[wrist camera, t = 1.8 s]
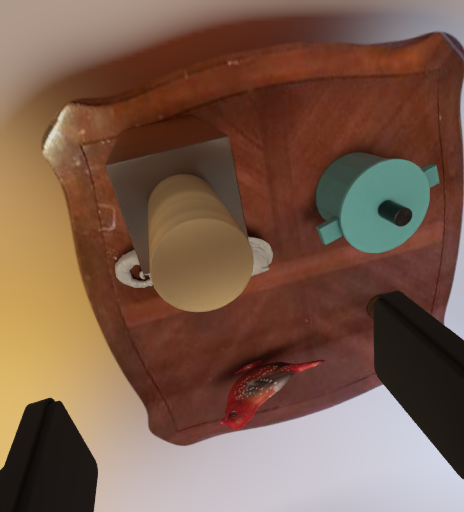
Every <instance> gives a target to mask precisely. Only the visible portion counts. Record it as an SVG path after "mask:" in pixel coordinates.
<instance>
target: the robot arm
mask: <svg viewBox="0 0 464 512" xmlns="http://www.w3.org/2000/svg"><path fill="white" fill-rule="evenodd" d="M373 318H374V367H375V372H376V374H377V376H378V378H379V379H380V381H381V382H382V383H383V384H384V385H385V387H386V388H387V389H388V390H389V391H390V393H391V394H392V395H393V396H394V398H395V399H396V400H397V401H398V402H399V404H400V405H401V406H402V407H403V408H404V410H405V411H406V412H407V413H408V414H409V416H410V417H411V418H412V419H413V420H414V422H415V423H416V424H417V425H418V427H419V428H420V429H421V430H422V431H423V433H424V434H425V435H426V436H427V437H428V439H429V440H430V441H431V442H432V443H433V445H434V446H435V447H436V448H437V450H438V451H439V452H440V453H441V454H442V456H443V457H444V458H445V459H446V460H447V462H448V463H449V464H450V465H451V466H452V468H453V469H454V470H455V471H456V472H457V474H458V475H459V476H460V477H461V478H462V479H464V340H463V339H461V338H460V337H459V336H458V335H456V334H455V333H454V332H452V331H451V330H450V329H448V328H447V327H445V326H444V325H443V324H442V323H440V322H439V321H438V320H436V319H435V318H434V317H433V316H431V315H430V314H429V313H427V312H426V311H425V310H424V309H422V308H421V307H420V306H418V305H417V304H416V303H414V302H413V301H412V300H411V299H409V298H408V297H407V296H405V295H404V294H403V293H402V292H400V291H393V292H390V293H387V294H383V295H380V296H378V298H377V302H375V303H374V305H373ZM97 478H98V468H97V463H96V461H95V459H94V457H93V455H92V454H91V452H90V450H89V448H88V447H87V445H86V443H85V442H84V440H83V438H82V436H81V435H80V433H79V431H78V429H77V428H76V426H75V424H74V423H73V421H72V419H71V417H70V416H69V414H68V412H67V410H66V409H65V407H64V405H63V404H62V402H61V401H56V402H55V401H54V399H52V398H48V399H44V400H41V401H38V402H35V403H31V404H29V405H27V407H26V408H25V411H24V413H23V416H22V419H21V422H20V424H19V427H18V430H17V432H16V435H15V438H14V441H13V443H12V446H11V449H10V451H9V454H8V457H7V460H6V462H5V465H4V467H3V468H2V469H1V470H0V512H94V504H95V494H96V487H97Z"/></svg>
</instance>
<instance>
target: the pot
mask: <svg viewBox="0 0 464 512" xmlns="http://www.w3.org/2000/svg"><path fill="white" fill-rule="evenodd" d="M382 160H386V159H385V158H382V157H378V156H375V155H371V154H368V153H365V152H363V153H361V152H355V153H350V154H347V155H344V156H342V157H340V158H338V159H337V160H335V161H334V162H333V163H332V164H331V165H330V166H329V167H328V168H327V169H326V170H325V172H324V173H323V175H322V176H321V179H320V181H319V183H318V186H317V191H316V204H317V208H318V211H319V213H320V215H321V216H322V218H323V219H324V220H325V221H326V222H324V223H322V224H320V225H318V226H317V227H316V228H317V231H318V233H319V236H320V239H321V241H322V243H324V244H325V245H327V244H328V243H330V242H332V241H334V240H336V239H338V238H339V237H341V236H343V233H342V231H341V227H340V221H339V213H340V206H341V203H342V200H343V197H344V194H345V193H346V191H347V189H348V187H349V186H350V184H351V183H352V181H353V180H354V179H355V178H356V177H357V176H358V175H359V174H360V173H361V172H362V171H363V170H365V169H366V168H367V167H369V166H371V165H372V164H374V163H377V162H379V161H382ZM421 170H422V171H423V173H424V174H425V176H426V178H427V180H428V184H429V188H431V187H433V186H434V185H436V184H438V183H440V182H439V176H438V171H437V165H434V164H429V165H427V166H425V167H424V168H422V169H421Z"/></svg>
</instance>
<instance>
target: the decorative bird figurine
mask: <svg viewBox="0 0 464 512" xmlns="http://www.w3.org/2000/svg"><path fill="white" fill-rule="evenodd" d="M262 360H263V359H262ZM262 360H261V361H262ZM261 361H260V362H261ZM325 361H326V360H318V361H312V362H306V363H301V364H290V363H284V362H276V363H271V364H262V365H257V364H259V363H260V362H259V361H256V362H257V363H256V362H254V363H251V364H248V365H245V366H244V367H242V369H240V370H239V371H237V372H236V373H238V372H240V371H245V370H247V369H249V368H252V369H250V370H249V371H247V372H246V373H244V374H243V375H242V376H241V377H240V378H239V379H238V380H237V381H236V382H235V384H234V385H233V387H232V389H231V391H230V393H229V396H228V403H227V407H226V411H225V418H224V419H223V420H222V421H221V422H220V423H222V424H225V425H228V427H230V428H231V429H234V430H238V429H240V428H242V427H243V426H245V425H246V424H247V423H248V422H249V421H250V420H251V418H252V417H253V415H254V413H255V412H256V410H257V409H258V407H259V406H260V405H262V404H263V403H264V402H265V401H266V400H267V399H269V398H270V397H271V396H273V395H274V394H275V393H276V392H278V391H279V390H280V389H281V388H282V387H283V386H284V385H285V384H286V383H287V382H288V381H289V380H290V379H291V378H292V377H293V376H294V374H295V373H297V372H300V371H302V370H305V369H308V368H311V367H313V366H316V365H319V364H321V363H323V362H325ZM236 373H234V374H236Z"/></svg>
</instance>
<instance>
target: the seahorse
mask: <svg viewBox="0 0 464 512" xmlns="http://www.w3.org/2000/svg"><path fill="white" fill-rule="evenodd" d="M248 240H249V243H250V245H251V248H252V251H253V258H254V266H253V271H252V275H251V276H253V275H256V274H259V273H262V272H264V271H267V270H269V268H268V267H267V266H268V265H269V264H270V263H271V262H272V258H273V252H272V249H271V247H270V245H269V243H267V242H265V241H264V240H262V239H258V238H254V237H253V238H252V237H249V236H248ZM135 265H140V264H139V261H138V258H137V255H136V252H135V250H133V251H130V252H128V253H127V254H125V255H122V257H121V258H120V259H119V260H118V262H116V264H115V273H116V277H117V278H118V279H119V280H120V281H121V282H122V283H123V284H126V285H129V286H132V287H134V288H137V287H138V288H141V287H143V288H145V287H147V286H152V285H153V283H152V280H151V276H150V273H149V274H145V275H149V277H150V279H147V280H146V281H143V280H142V281H138V280H137V279H133V277H132V276H131V273H130V269H132V268H133V266H135ZM139 275H140V277H141V278H142V279H145V277H144V274H143V272H142V271H141V272H140V274H139Z"/></svg>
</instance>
